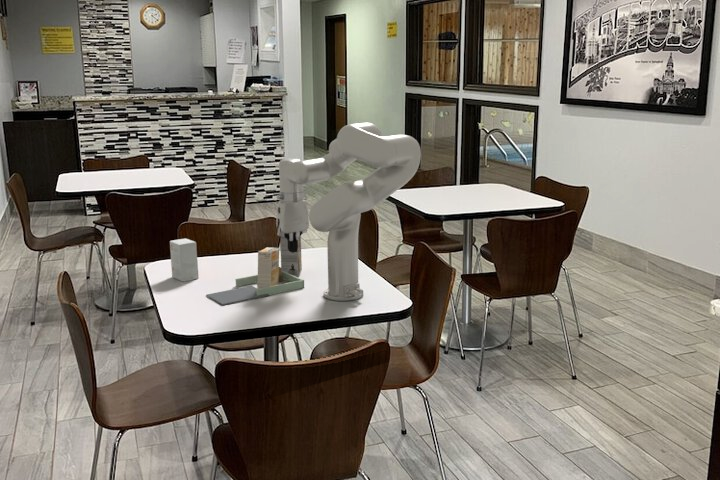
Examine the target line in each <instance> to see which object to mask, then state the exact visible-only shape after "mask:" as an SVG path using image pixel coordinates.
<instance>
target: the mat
mask: <svg viewBox="0 0 720 480" xmlns="http://www.w3.org/2000/svg"><path fill="white" fill-rule="evenodd" d="M256 289H257V287H255V286H253V285H248V286H247V285H246V286H244V287H243V286H242V287H237V288H233V289H228V290H223V291H217V292H212V293H209V294H205V296H206V297H207V298H209V299H210V300H212V301H214V302H215V303H217V304H219V305H220V306H227V305H232V304H236V303H237V304H238V303H243V302H248V301H251V300H252V301H253V300H257V299H260V298H265V297H269V296H270V295H269V294H264V295H259V296H257V293H256Z"/></svg>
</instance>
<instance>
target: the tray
mask: <svg viewBox="0 0 720 480" xmlns="http://www.w3.org/2000/svg"><path fill="white" fill-rule="evenodd" d="M282 280H283V281H286V283H280V284H278V285H275V286H270V287H265V288H260V289H256V293H257V296H259V295H264V294H269V296H270V295H275V294H279V293H280V294H281V293H284V292H285V293H286V292H289V291H293V290H299V289H303V288H305V280H304V279H302V278H300V277H295V276H293V275H291V274H288V273H286V272H284V271H282ZM257 281H258V274H255V275H250V276H249V275H248V276H245V277H237V278H235V287H241V286H242V287H243V286H247V285H252V284H256V283H257Z"/></svg>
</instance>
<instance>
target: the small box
mask: <svg viewBox="0 0 720 480" xmlns="http://www.w3.org/2000/svg"><path fill="white" fill-rule="evenodd" d="M169 250H170V252H169V253H170V264H171V265H170V266H171V278H174V279H176V280H178V281H180V282H182V283H183V282H187V281H192V280H196V279H199V265H198V251H197V250H198V249H197V242H196V241H194V240H191V239H189V238H186V237H185V238H180V239H179V238H178V239H174V240H170V241H169Z"/></svg>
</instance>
